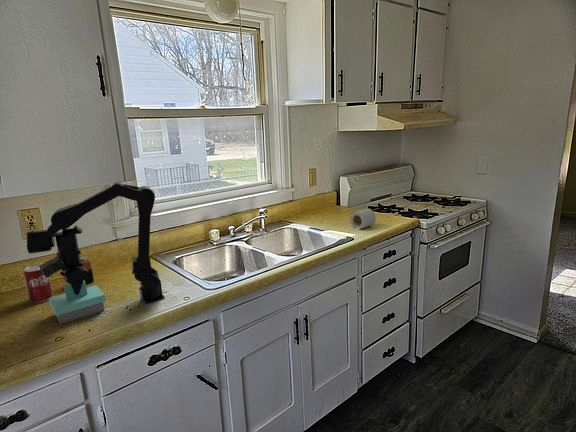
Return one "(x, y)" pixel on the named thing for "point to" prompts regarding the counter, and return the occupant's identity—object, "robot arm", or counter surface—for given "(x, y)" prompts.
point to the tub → (80, 313)
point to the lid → (76, 299)
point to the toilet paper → (362, 218)
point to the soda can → (37, 284)
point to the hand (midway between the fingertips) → (76, 293)
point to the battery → (87, 266)
